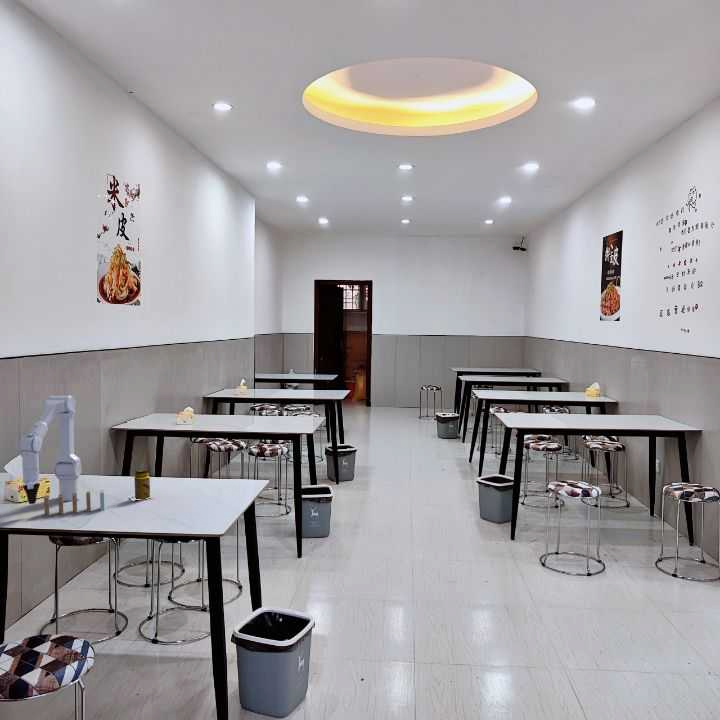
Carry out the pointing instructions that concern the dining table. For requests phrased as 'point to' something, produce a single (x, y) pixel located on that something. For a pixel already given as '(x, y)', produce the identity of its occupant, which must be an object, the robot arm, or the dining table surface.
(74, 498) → the domino
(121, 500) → the dining table surface
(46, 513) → the domino
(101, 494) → the domino
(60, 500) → the domino
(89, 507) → the domino
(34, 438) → the robot arm
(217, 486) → the dining table surface
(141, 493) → the condiment
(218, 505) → the dining table surface
